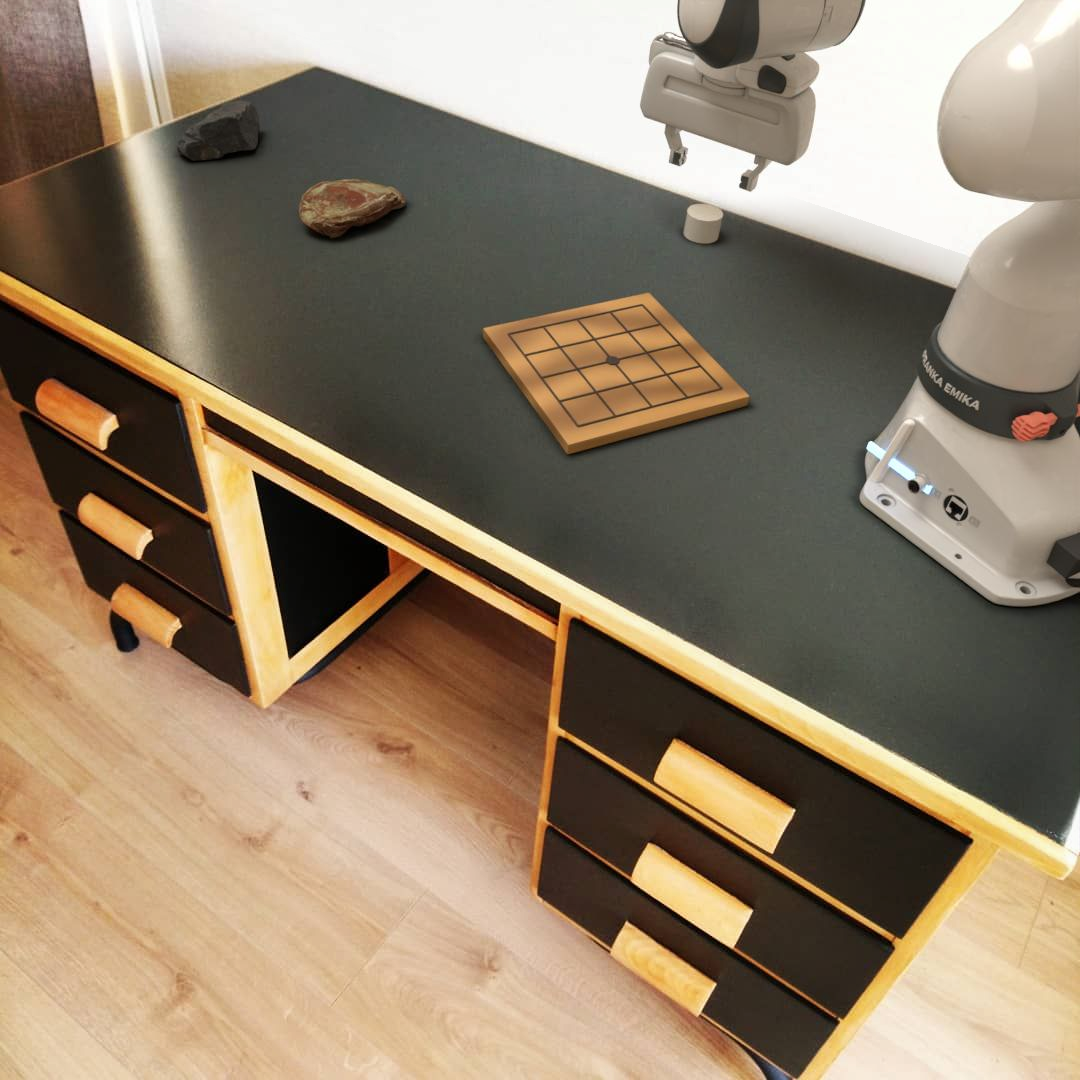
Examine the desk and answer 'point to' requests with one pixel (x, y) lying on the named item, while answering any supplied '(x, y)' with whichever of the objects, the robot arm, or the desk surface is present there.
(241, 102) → the rock
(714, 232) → the game stone
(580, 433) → the grid board
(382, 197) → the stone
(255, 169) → the desk surface
